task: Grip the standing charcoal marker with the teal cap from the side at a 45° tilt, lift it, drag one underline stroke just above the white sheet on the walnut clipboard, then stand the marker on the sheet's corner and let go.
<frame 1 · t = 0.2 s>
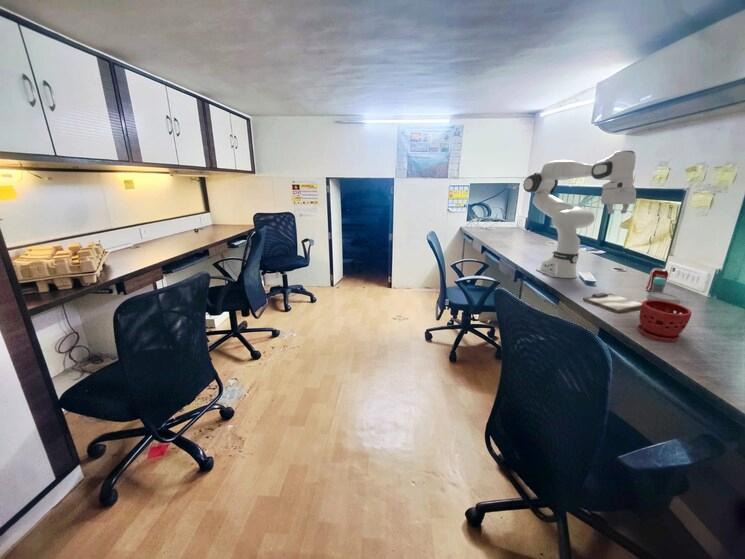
hand: (617, 213, 156), 39 cm above the table, tool pointing down, fingers open, 8 cm apart
plant pot: (657, 336, 114), on the table
soda can: (653, 291, 160), on the table
disposable coffee cup: (655, 324, 124), on the table
marker: (652, 306, 141), on the table
clipboard: (613, 303, 144), on the table
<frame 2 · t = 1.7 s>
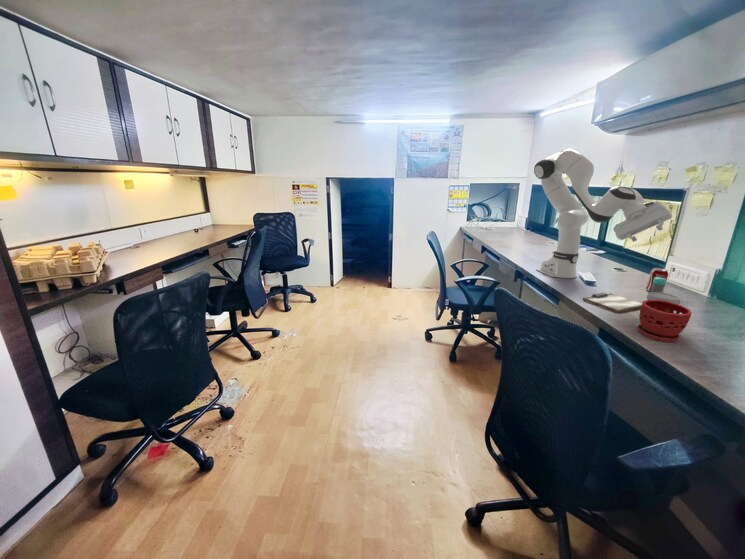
hand: (647, 234, 136), 32 cm above the table, tool tilted 55°, fingers open, 8 cm apart
nothing on the table moved.
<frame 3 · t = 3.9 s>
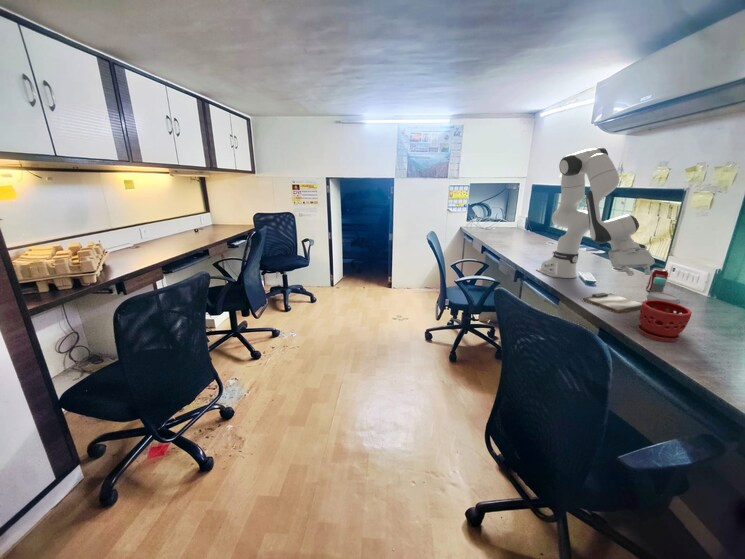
hand: (640, 274, 143), 13 cm above the table, tool tilted 45°, fingers open, 8 cm apart
nothing on the table moved.
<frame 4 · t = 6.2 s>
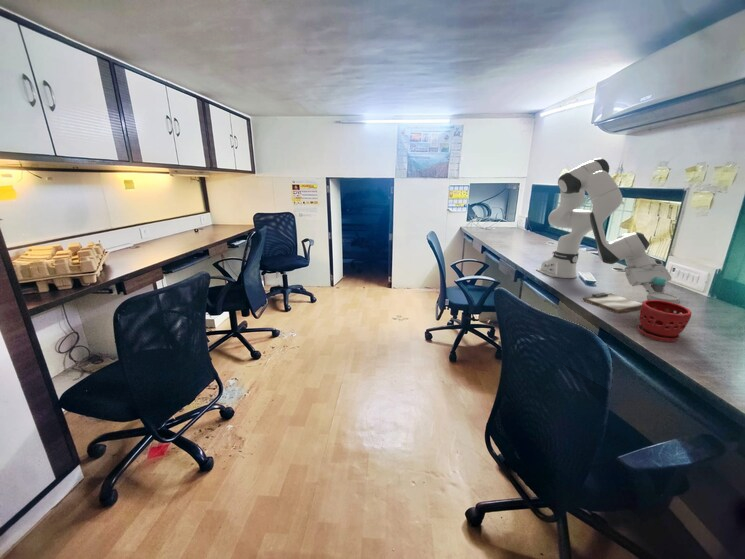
hand: (658, 292, 138), 7 cm above the table, tool tilted 45°, fingers closed on marker, 4 cm apart
marker: (652, 306, 141), on the table, touching gripper
everything else where it was.
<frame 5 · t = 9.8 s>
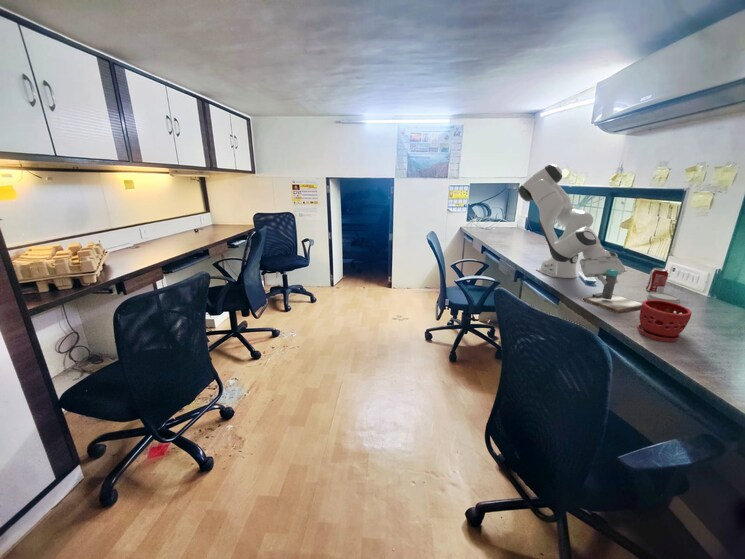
hand: (611, 283, 142), 10 cm above the table, tool tilted 45°, fingers closed on marker, 4 cm apart
marker: (606, 297, 145), point 2 cm above the table, touching gripper
everything else where it was.
when the fingers open (10 cm above the table, at t = 13.4 s): marker drops 1 cm, resting on clipboard.
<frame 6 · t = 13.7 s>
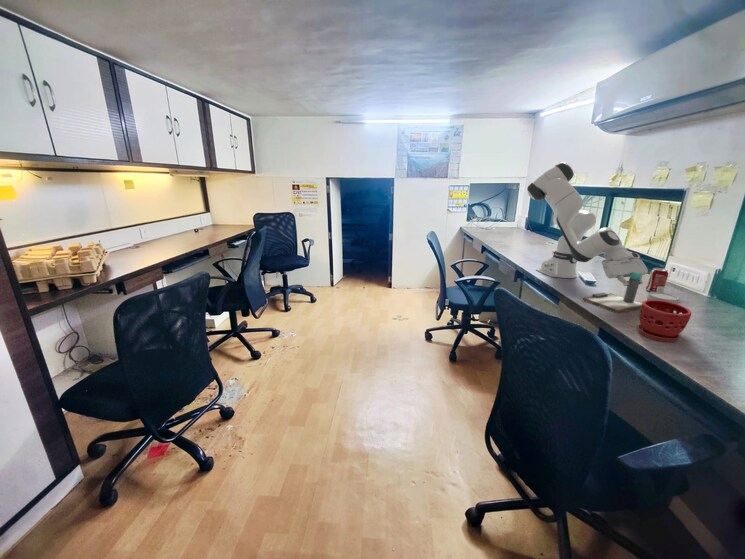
hand: (634, 284, 140), 10 cm above the table, tool tilted 45°, fingers open, 6 cm apart
marker: (628, 301, 143), point 1 cm above the table, touching clipboard
everything else where it was.
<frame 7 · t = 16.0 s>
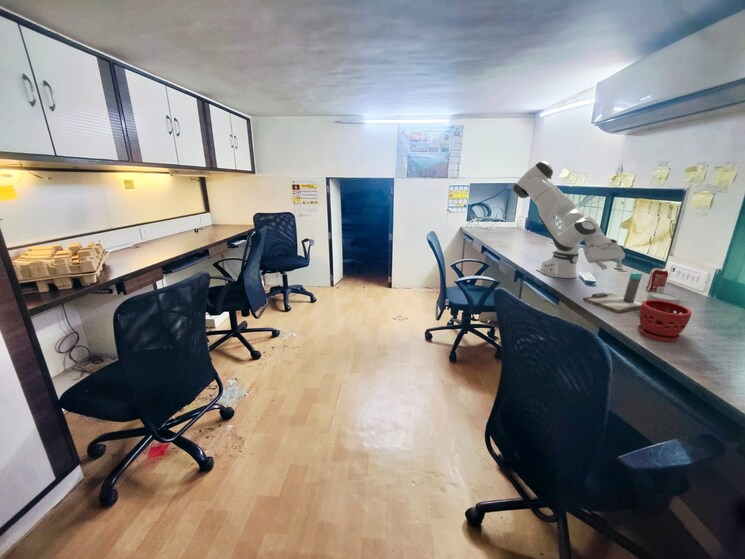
hand: (612, 268, 152), 14 cm above the table, tool tilted 45°, fingers open, 8 cm apart
nothing on the table moved.
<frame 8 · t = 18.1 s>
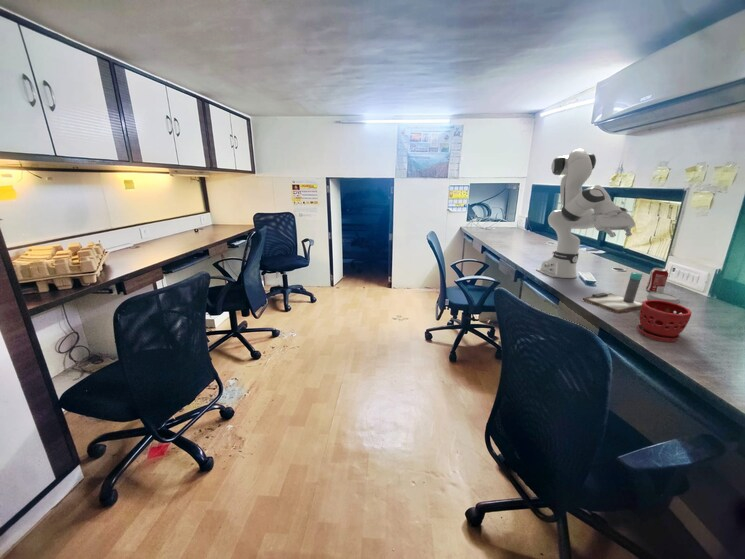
hand: (621, 236, 148), 29 cm above the table, tool tilted 45°, fingers open, 8 cm apart
nothing on the table moved.
at the end: marker inside the target area on the clipboard (6.1 cm from its centre), point 1.4 cm above the clipboard's base; marker tilted 2°; the gripper is holding nothing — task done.
